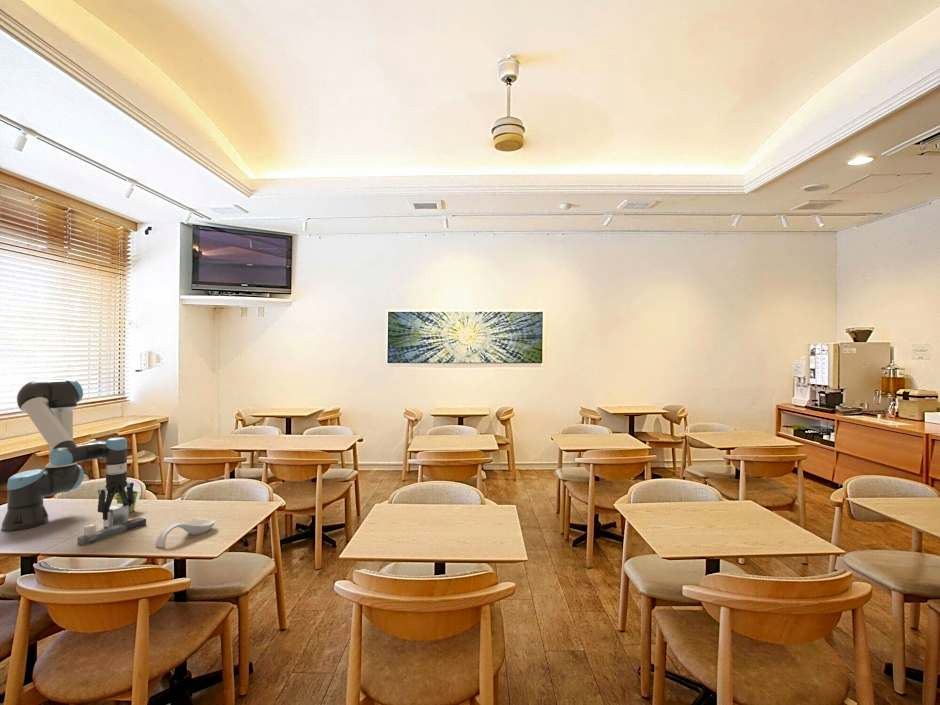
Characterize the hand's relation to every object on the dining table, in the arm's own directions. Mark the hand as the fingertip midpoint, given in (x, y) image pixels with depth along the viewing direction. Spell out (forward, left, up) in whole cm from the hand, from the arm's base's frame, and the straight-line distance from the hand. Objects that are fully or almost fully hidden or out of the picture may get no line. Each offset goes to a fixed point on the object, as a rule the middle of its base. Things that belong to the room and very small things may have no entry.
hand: (116, 523), depth 206 cm
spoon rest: (+42, +2, -1) cm, 42 cm away
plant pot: (-14, +13, -1) cm, 19 cm away
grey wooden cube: (0, 0, 0) cm, 0 cm away
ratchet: (+10, -7, 0) cm, 12 cm away
